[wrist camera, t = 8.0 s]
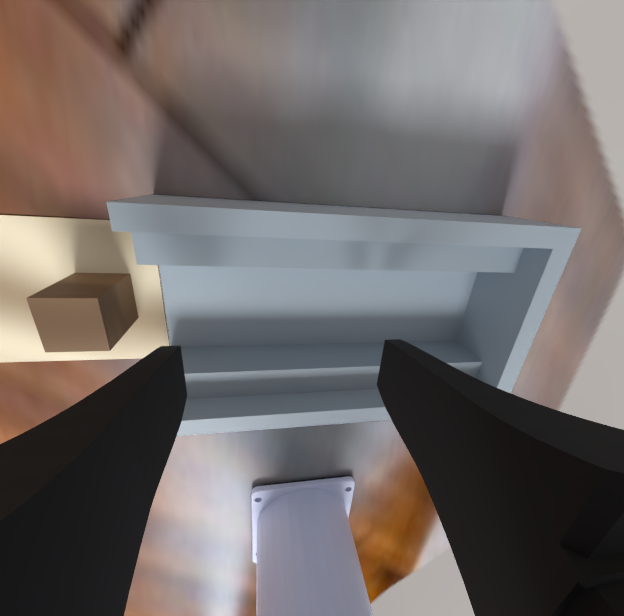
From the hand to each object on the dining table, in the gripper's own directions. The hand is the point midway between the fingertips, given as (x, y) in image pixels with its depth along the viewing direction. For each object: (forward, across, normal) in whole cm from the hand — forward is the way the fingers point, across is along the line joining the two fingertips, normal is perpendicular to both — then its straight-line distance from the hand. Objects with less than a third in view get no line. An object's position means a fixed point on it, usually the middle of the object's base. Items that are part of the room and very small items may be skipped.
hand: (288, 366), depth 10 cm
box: (+6, -3, 0) cm, 7 cm away
